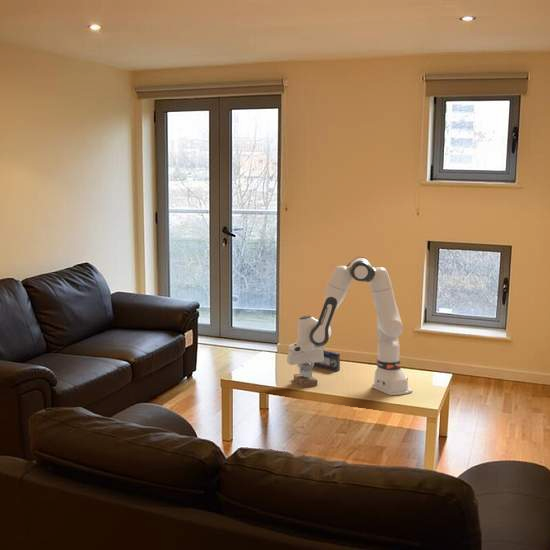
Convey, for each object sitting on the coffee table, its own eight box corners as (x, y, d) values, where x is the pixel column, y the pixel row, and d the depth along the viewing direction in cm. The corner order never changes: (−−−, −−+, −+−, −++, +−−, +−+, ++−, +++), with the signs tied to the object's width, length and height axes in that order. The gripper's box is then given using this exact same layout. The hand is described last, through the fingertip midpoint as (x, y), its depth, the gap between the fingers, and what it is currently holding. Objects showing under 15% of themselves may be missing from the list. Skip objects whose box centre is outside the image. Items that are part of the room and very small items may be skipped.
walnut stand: (317, 385, 359) (317, 380, 359) (303, 387, 357) (303, 381, 356) (307, 378, 372) (307, 373, 372) (293, 379, 370) (293, 374, 369)
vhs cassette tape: (311, 365, 397) (311, 349, 395) (315, 364, 399) (315, 348, 397) (336, 371, 385) (337, 354, 383) (340, 370, 387) (340, 353, 385)
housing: (306, 372, 368) (306, 361, 367) (311, 376, 361) (311, 365, 360) (299, 373, 367) (299, 362, 366) (305, 377, 359) (305, 366, 358)
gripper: (321, 342, 368) (321, 367, 370) (285, 346, 361) (285, 371, 363) (325, 345, 362) (325, 370, 364) (290, 349, 355) (290, 374, 357)
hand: (305, 370), depth 364 cm, fingers closed on housing, 4 cm apart
